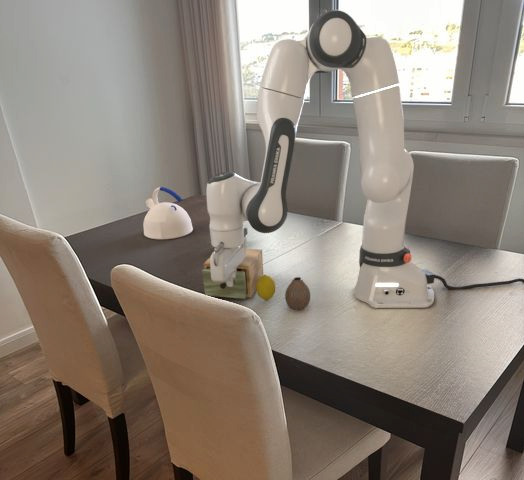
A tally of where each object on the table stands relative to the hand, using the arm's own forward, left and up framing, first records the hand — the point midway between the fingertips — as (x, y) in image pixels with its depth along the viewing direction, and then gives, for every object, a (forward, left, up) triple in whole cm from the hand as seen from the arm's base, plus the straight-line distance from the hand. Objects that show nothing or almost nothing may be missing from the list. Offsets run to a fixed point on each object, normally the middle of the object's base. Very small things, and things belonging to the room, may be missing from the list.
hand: (231, 284), depth 138 cm
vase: (-19, -1, -6) cm, 20 cm away
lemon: (-9, -4, -6) cm, 12 cm away
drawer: (+3, -8, -5) cm, 10 cm away
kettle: (+49, -60, -6) cm, 78 cm away
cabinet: (+3, -12, -6) cm, 14 cm away
